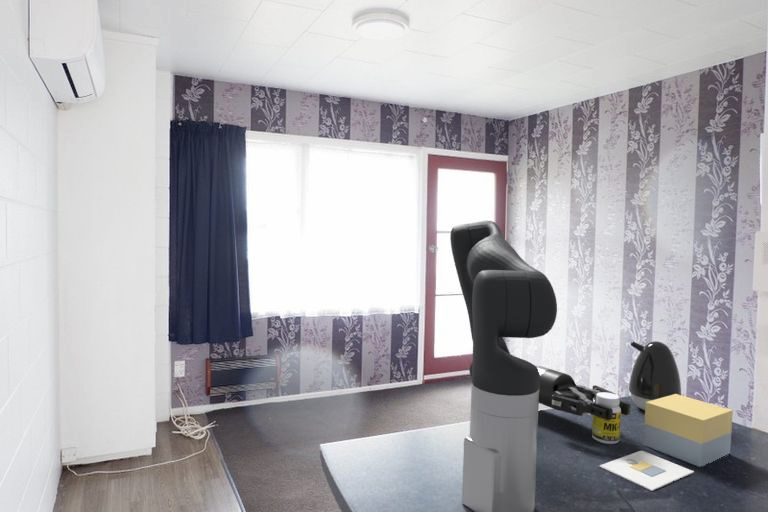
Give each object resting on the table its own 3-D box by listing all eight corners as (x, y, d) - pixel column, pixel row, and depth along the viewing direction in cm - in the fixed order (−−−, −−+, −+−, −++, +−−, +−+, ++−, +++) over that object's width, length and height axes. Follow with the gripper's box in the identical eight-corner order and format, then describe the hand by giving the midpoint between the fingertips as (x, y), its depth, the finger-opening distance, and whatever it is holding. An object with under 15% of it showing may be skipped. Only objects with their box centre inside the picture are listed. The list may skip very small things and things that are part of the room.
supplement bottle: (603, 445, 94) (605, 400, 93) (586, 435, 98) (588, 392, 98) (625, 443, 95) (627, 398, 95) (607, 433, 100) (609, 390, 99)
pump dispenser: (633, 398, 121) (636, 334, 120) (683, 409, 114) (687, 341, 114) (621, 409, 113) (625, 341, 112) (675, 422, 106) (679, 349, 106)
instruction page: (651, 491, 78) (651, 489, 78) (599, 466, 85) (599, 464, 85) (693, 472, 84) (694, 470, 84) (641, 451, 92) (641, 449, 92)
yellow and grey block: (700, 467, 86) (703, 420, 86) (643, 444, 95) (645, 402, 94) (729, 454, 91) (732, 410, 91) (673, 434, 100) (675, 393, 99)
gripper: (523, 373, 105) (596, 398, 90) (569, 364, 112) (644, 386, 98) (521, 409, 105) (594, 440, 91) (568, 398, 113) (642, 425, 98)
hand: (620, 412), depth 94 cm, fingers closed on supplement bottle, 4 cm apart
